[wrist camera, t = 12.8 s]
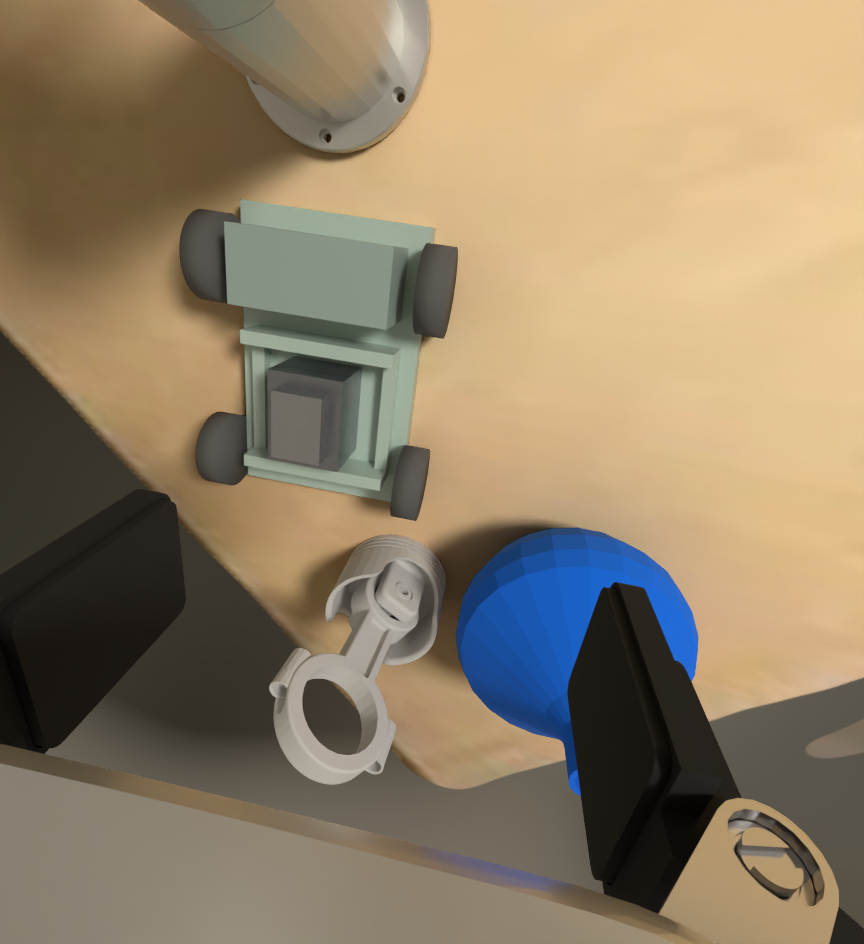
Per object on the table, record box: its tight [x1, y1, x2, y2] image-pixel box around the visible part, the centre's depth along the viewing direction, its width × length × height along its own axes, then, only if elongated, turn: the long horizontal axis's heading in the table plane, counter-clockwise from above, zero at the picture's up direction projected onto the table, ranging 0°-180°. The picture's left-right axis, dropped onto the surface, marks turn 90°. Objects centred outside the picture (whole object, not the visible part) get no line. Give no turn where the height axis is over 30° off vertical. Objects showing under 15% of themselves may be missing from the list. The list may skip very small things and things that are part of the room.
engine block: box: [267, 356, 362, 472], centre depth 37 cm, size 7×6×6 cm
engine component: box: [269, 534, 446, 784], centre depth 39 cm, size 11×20×10 cm
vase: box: [456, 528, 698, 796], centre depth 37 cm, size 18×18×19 cm
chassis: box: [180, 199, 458, 521], centre depth 37 cm, size 22×18×6 cm
